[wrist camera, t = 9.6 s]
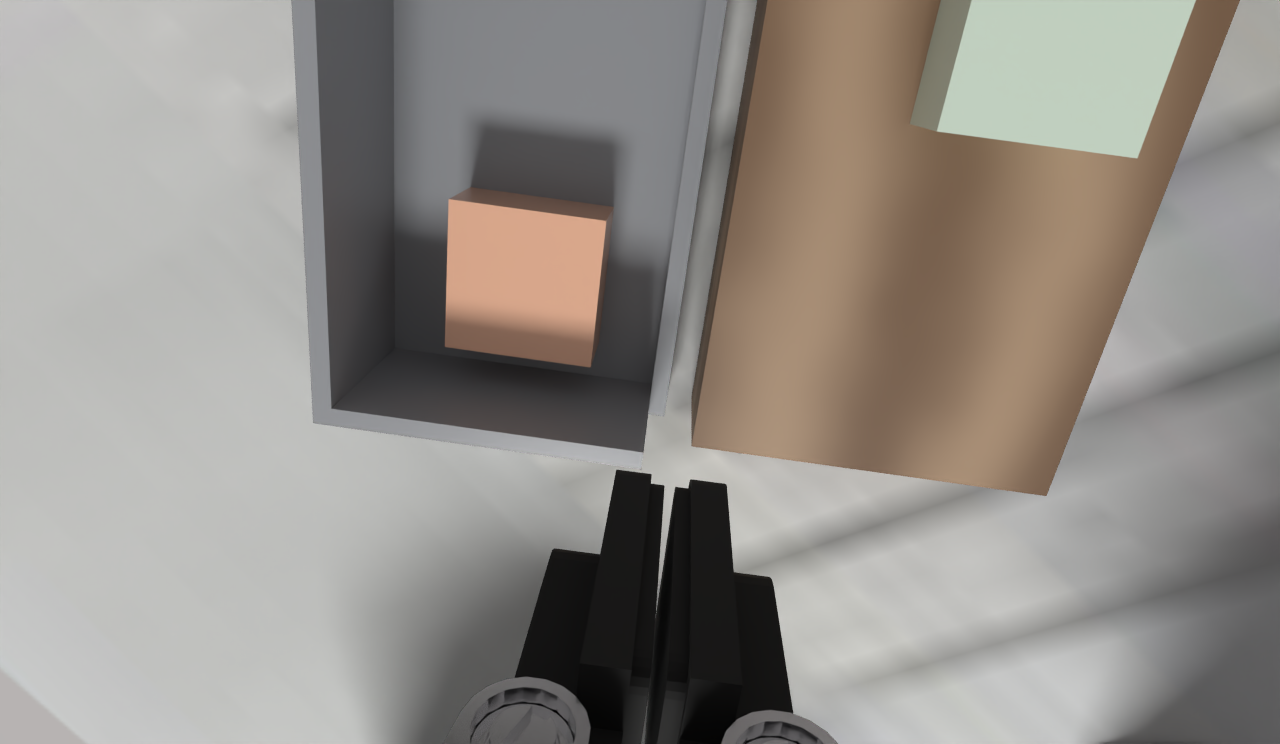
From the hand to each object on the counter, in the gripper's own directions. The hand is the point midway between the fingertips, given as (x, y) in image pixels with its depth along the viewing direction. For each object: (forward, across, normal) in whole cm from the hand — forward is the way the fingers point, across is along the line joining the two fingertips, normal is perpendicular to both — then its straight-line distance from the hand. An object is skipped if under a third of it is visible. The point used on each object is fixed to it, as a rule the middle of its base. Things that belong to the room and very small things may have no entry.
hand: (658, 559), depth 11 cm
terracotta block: (+14, +5, 0) cm, 15 cm away
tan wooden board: (+17, -7, -4) cm, 19 cm away
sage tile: (+13, -8, -9) cm, 18 cm away
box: (+17, +5, -4) cm, 18 cm away
